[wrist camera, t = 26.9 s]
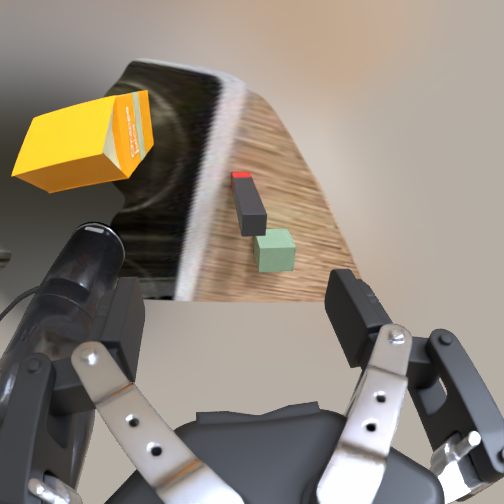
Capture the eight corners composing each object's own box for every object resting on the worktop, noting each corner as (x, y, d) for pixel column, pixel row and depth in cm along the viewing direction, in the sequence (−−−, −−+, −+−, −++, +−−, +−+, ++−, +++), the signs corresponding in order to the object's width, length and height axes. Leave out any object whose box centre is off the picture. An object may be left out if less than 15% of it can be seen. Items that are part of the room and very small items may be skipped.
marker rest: (285, 251, 50) (293, 271, 45) (253, 252, 49) (258, 272, 44) (287, 228, 48) (296, 246, 43) (254, 229, 47) (259, 248, 42)
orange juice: (154, 145, 38) (113, 203, 22) (93, 156, 38) (22, 219, 21) (147, 88, 34) (95, 99, 17) (85, 101, 34) (-1, 130, 17)
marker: (265, 236, 32) (267, 214, 30) (241, 236, 31) (242, 214, 30) (248, 188, 44) (249, 171, 42) (231, 188, 43) (231, 171, 42)
